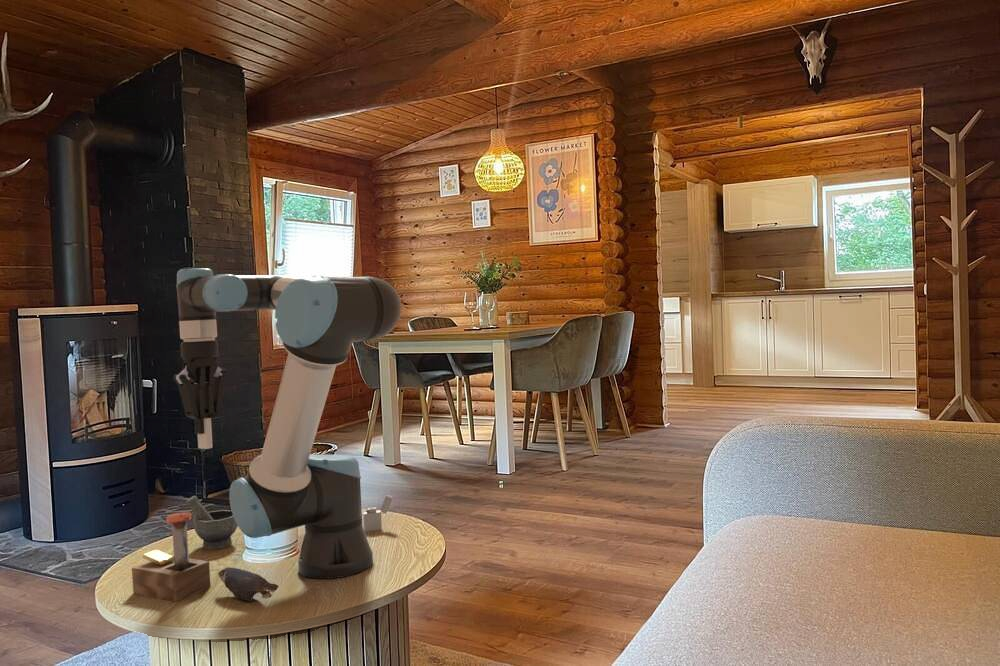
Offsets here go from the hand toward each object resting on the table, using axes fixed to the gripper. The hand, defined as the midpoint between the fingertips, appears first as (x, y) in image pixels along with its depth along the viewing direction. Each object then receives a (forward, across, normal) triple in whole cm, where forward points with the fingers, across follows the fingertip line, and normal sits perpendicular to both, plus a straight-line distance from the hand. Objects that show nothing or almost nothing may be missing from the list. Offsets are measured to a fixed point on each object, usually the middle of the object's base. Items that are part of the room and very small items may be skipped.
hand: (205, 447), depth 166 cm
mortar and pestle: (+25, -7, -7) cm, 27 cm away
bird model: (+25, +15, +25) cm, 38 cm away
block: (+24, +17, +7) cm, 31 cm away
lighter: (+25, -30, +23) cm, 45 cm away
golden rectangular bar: (+19, +17, +4) cm, 26 cm away
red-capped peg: (+24, +17, +10) cm, 31 cm away
